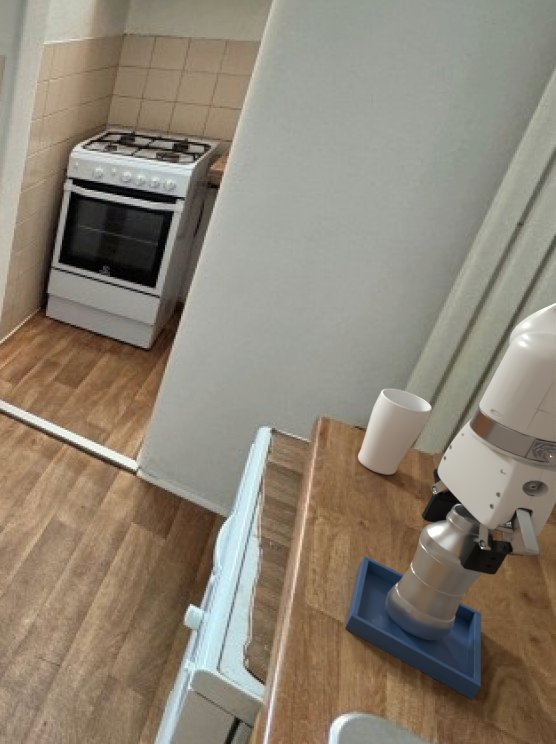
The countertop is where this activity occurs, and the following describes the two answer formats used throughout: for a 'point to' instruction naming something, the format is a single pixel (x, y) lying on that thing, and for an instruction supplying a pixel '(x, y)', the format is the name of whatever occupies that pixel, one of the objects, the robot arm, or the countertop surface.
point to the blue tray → (433, 657)
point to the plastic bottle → (435, 577)
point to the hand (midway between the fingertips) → (456, 543)
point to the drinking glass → (392, 429)
